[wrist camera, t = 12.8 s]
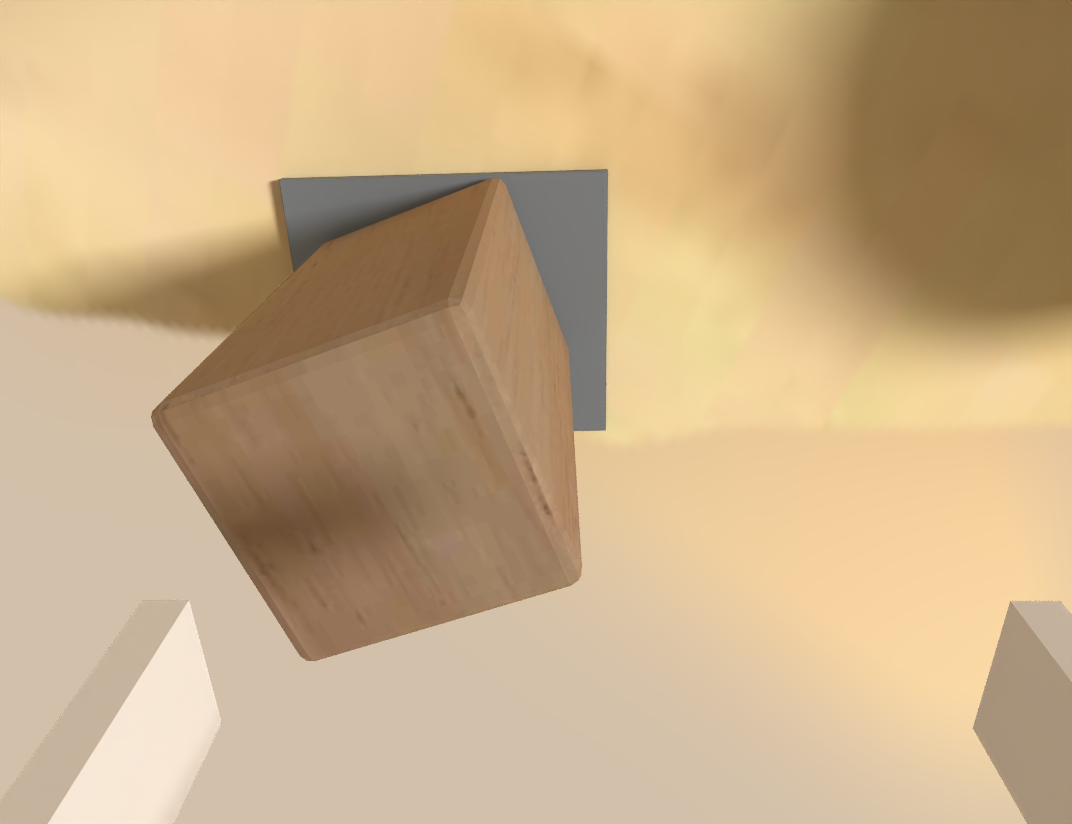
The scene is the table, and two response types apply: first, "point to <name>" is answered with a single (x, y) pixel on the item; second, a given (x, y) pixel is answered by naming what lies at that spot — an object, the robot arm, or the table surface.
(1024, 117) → the table surface
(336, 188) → the mat
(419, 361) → the wooden block
